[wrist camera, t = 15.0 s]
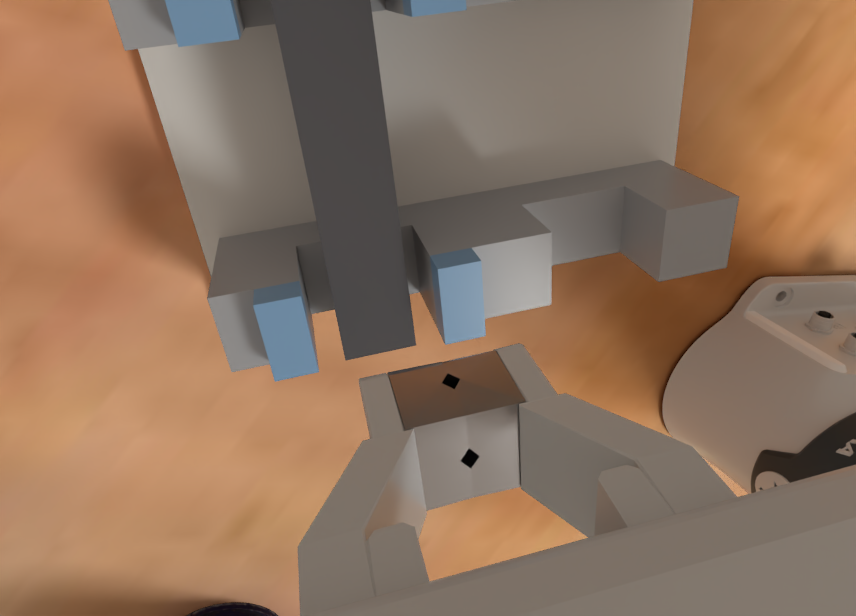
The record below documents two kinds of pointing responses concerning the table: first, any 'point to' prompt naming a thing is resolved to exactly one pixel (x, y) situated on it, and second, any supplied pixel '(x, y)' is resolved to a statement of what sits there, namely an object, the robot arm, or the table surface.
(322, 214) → the dark square rod
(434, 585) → the robot arm
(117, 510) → the table surface
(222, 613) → the black ribbed barrel
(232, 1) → the grey slotted fixture rack
